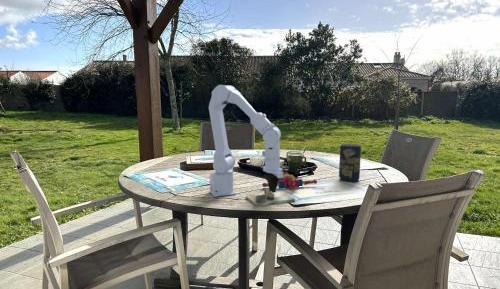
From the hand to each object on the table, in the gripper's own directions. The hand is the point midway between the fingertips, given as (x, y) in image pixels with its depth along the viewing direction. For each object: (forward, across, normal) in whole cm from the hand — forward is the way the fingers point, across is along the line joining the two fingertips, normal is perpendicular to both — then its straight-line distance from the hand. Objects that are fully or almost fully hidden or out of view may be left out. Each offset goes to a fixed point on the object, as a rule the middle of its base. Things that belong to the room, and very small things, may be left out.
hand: (272, 192), depth 144 cm
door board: (+2, -2, +2) cm, 4 cm away
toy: (+3, +19, -14) cm, 24 cm away
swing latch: (+1, -2, +2) cm, 3 cm away
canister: (+3, +14, -46) cm, 48 cm away
